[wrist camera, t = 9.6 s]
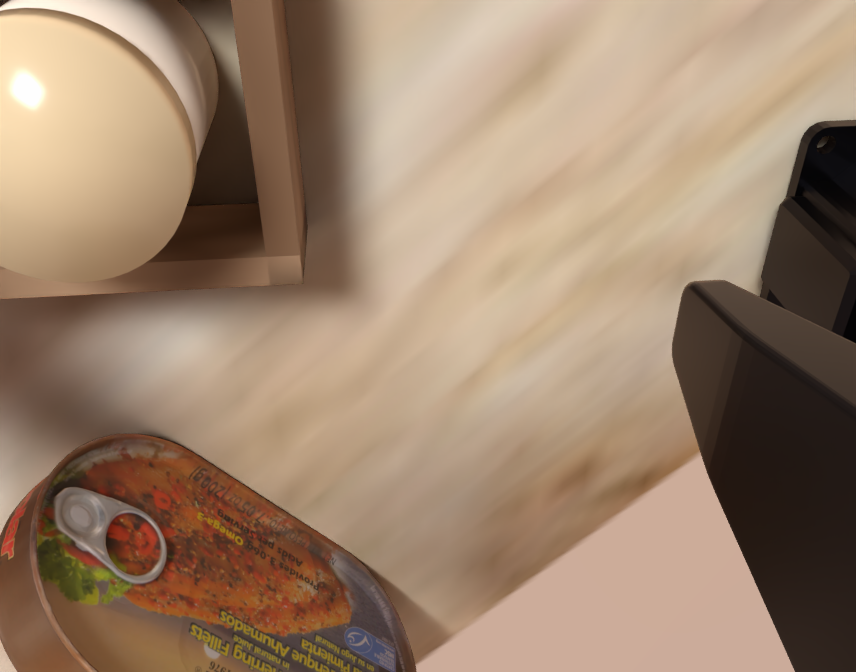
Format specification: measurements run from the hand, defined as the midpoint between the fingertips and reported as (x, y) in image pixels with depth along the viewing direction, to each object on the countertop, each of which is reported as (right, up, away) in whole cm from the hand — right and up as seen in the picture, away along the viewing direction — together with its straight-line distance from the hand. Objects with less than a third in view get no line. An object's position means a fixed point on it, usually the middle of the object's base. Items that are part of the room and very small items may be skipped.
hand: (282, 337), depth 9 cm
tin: (-5, -7, +20) cm, 22 cm away
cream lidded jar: (-6, +6, +11) cm, 14 cm away
